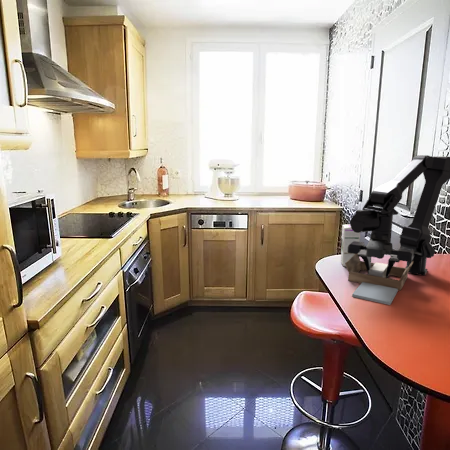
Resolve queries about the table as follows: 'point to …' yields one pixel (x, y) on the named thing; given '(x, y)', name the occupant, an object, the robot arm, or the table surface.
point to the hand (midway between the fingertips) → (377, 276)
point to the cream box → (378, 270)
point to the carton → (356, 265)
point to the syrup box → (347, 242)
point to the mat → (375, 293)
